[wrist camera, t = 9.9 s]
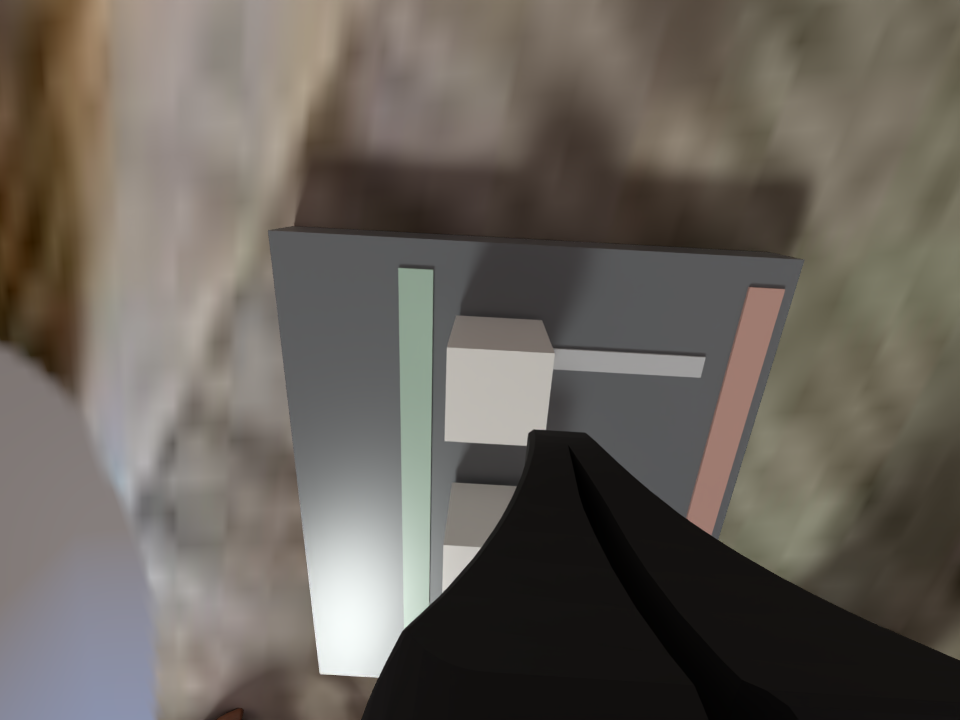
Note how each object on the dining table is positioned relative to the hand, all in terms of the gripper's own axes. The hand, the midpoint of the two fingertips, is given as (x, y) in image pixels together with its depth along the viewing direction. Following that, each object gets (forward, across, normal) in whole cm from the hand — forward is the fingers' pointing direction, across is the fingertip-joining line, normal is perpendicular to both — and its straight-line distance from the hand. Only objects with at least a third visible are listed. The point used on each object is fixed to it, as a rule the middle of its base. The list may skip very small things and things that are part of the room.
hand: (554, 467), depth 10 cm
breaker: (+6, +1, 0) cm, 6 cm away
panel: (+8, 0, +7) cm, 11 cm away
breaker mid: (+6, +1, +7) cm, 9 cm away
